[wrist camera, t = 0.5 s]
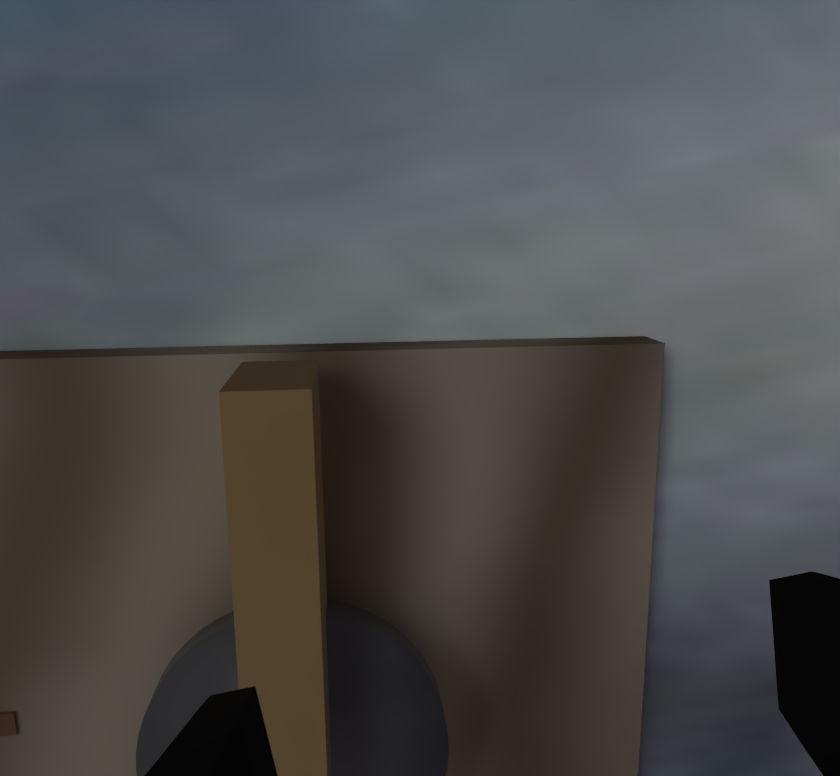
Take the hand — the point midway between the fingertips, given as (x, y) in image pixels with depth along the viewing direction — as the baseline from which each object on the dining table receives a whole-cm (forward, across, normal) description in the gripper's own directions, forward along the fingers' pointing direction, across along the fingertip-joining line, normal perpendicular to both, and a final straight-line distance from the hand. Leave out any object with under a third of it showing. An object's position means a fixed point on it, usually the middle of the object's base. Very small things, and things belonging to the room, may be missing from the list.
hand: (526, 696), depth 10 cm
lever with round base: (+7, +4, +2) cm, 8 cm away
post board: (+9, +5, +5) cm, 11 cm away
